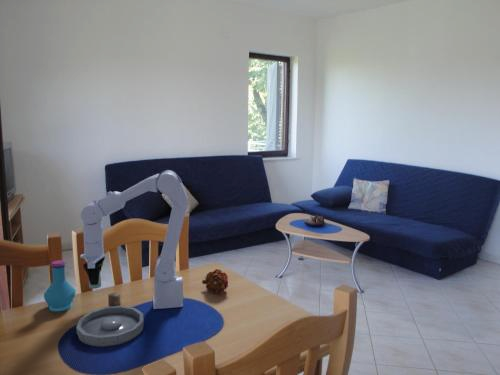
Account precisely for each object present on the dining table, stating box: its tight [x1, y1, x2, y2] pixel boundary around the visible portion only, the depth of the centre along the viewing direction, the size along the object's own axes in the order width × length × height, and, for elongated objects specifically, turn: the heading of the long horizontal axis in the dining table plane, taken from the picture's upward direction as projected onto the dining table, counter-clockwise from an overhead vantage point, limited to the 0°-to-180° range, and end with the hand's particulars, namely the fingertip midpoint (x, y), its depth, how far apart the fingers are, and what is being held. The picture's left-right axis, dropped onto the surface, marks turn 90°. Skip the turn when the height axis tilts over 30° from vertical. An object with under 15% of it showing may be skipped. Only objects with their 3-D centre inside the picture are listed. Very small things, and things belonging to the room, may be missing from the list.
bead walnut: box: [107, 292, 121, 307], centre depth 129 cm, size 4×4×5 cm
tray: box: [75, 305, 144, 348], centre depth 117 cm, size 18×18×3 cm
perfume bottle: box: [43, 259, 76, 312], centre depth 129 cm, size 9×9×15 cm
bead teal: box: [88, 270, 102, 290], centre depth 130 cm, size 4×4×5 cm
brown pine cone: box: [201, 268, 229, 294], centre depth 146 cm, size 8×8×12 cm
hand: (95, 281), depth 130 cm, fingers closed on bead teal, 4 cm apart
